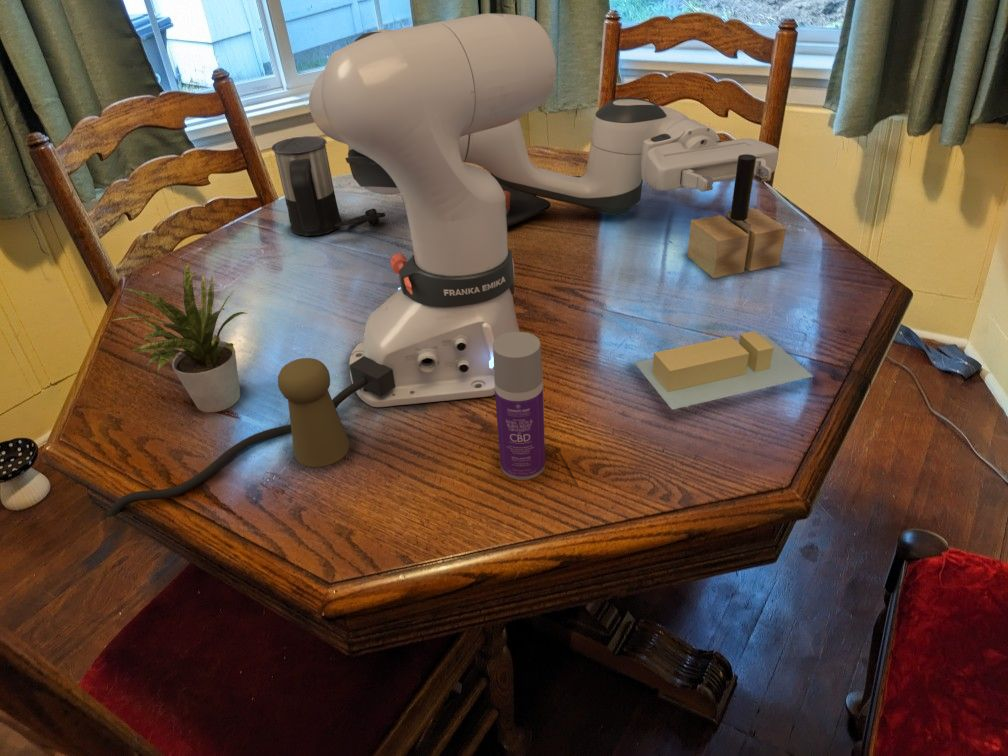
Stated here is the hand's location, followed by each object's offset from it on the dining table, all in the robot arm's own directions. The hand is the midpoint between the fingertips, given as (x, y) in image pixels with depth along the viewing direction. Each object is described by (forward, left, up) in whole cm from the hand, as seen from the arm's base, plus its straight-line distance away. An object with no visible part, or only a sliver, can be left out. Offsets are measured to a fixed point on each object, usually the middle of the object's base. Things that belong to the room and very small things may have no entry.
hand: (737, 181), depth 105 cm
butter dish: (-17, -27, -12) cm, 34 cm away
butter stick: (-20, -27, -11) cm, 36 cm away
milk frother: (-56, +37, -12) cm, 68 cm away
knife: (0, -1, -12) cm, 12 cm away
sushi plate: (-24, +40, -12) cm, 48 cm away
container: (-44, -34, -12) cm, 57 cm away
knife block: (0, -1, -12) cm, 12 cm away
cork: (-64, -24, -12) cm, 70 cm away
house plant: (-76, -9, -12) cm, 78 cm away
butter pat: (-13, -27, -11) cm, 32 cm away
